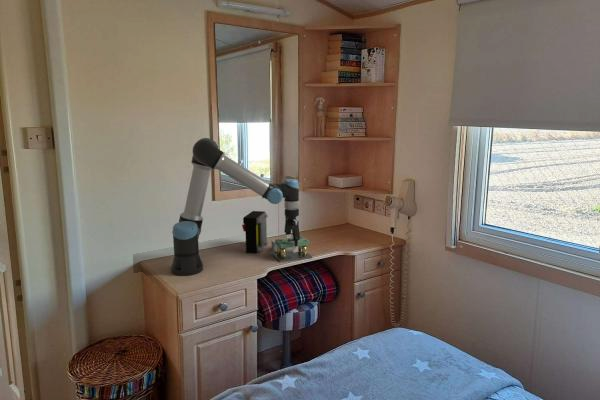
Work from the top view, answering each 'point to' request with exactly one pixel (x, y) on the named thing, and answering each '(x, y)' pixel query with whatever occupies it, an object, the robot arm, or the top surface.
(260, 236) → the electrical component
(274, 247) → the foam block
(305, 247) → the chassis
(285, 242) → the board
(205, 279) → the top surface
